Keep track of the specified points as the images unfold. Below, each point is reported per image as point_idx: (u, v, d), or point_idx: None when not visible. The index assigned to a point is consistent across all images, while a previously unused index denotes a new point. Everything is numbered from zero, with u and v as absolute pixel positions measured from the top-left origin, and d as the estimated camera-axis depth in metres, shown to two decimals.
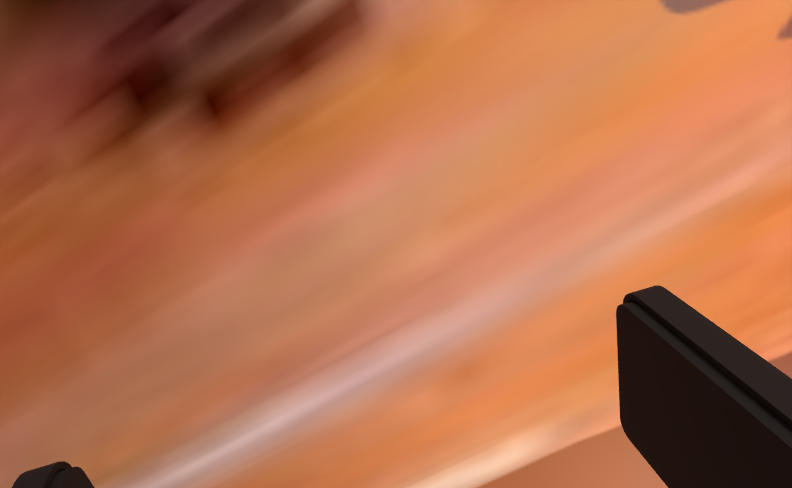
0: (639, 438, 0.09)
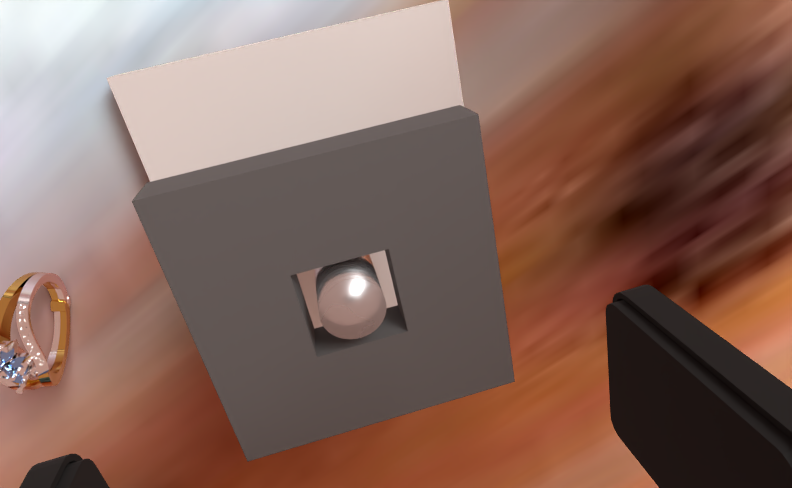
0: (629, 436, 0.10)
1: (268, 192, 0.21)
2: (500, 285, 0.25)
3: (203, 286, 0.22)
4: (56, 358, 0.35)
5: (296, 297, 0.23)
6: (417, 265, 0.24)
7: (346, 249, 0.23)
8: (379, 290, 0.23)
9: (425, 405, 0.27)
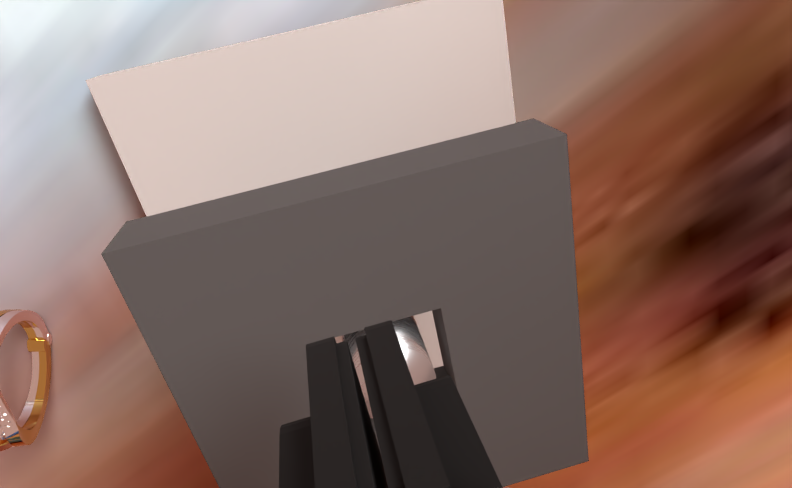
0: None
1: (285, 239, 0.16)
2: (579, 349, 0.20)
3: (200, 359, 0.17)
4: (33, 407, 0.30)
5: None
6: (476, 327, 0.18)
7: (386, 310, 0.17)
8: (427, 361, 0.18)
9: None
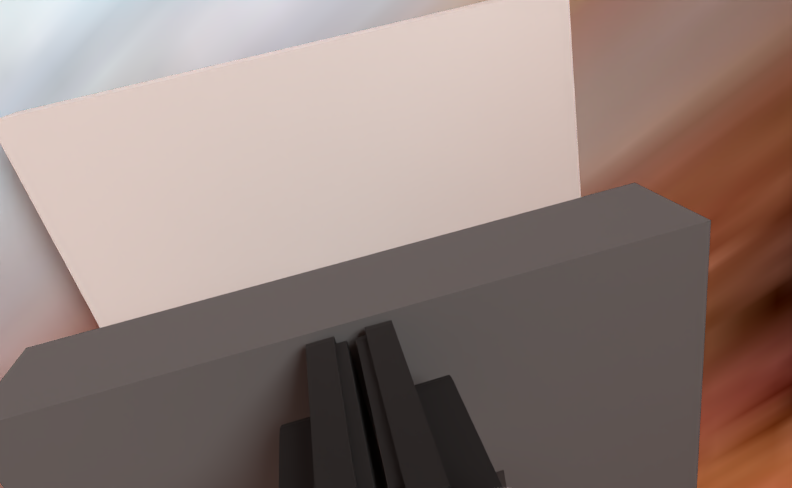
0: None
1: (267, 392, 0.10)
2: None
3: None
4: None
5: None
6: None
7: None
8: None
9: None
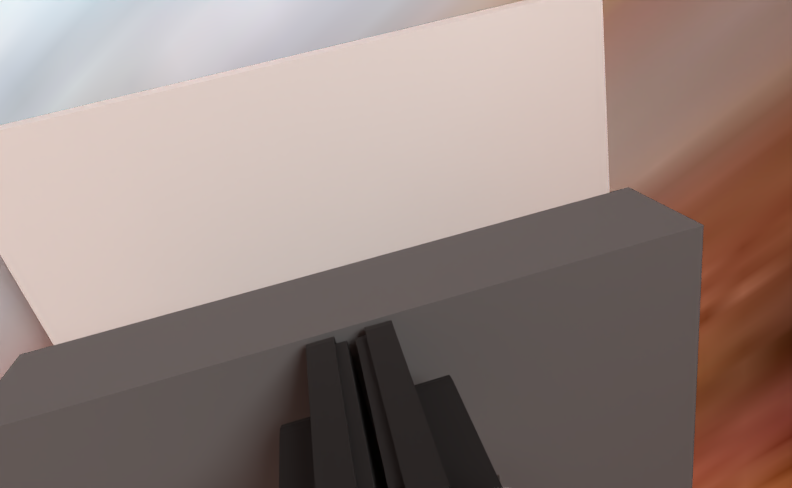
0: None
1: (262, 399, 0.10)
2: None
3: None
4: None
5: None
6: None
7: None
8: None
9: None
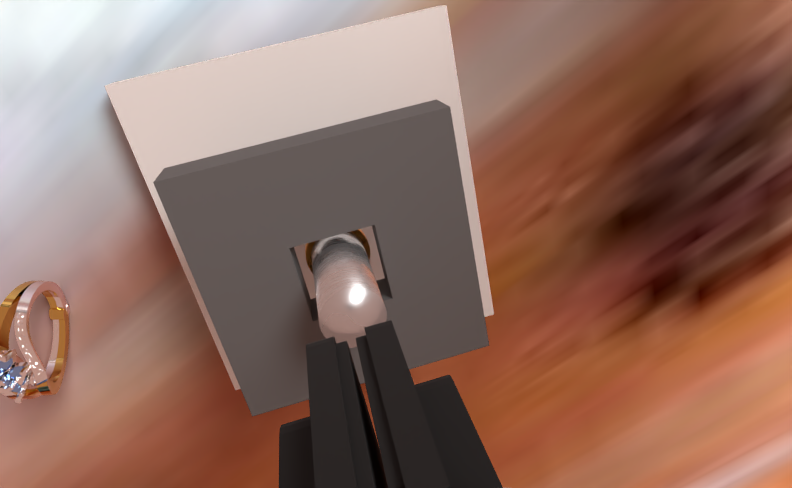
0: None
1: (269, 174, 0.25)
2: (473, 257, 0.29)
3: (214, 257, 0.26)
4: (55, 366, 0.35)
5: (294, 267, 0.27)
6: (399, 239, 0.27)
7: (337, 225, 0.26)
8: (379, 298, 0.23)
9: (409, 366, 0.31)
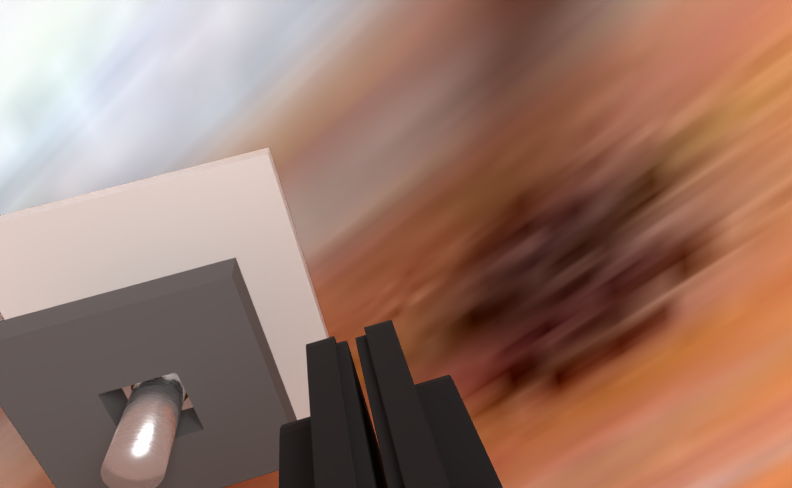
0: None
1: (70, 338, 0.28)
2: (276, 393, 0.32)
3: (28, 405, 0.29)
4: None
5: (105, 409, 0.30)
6: (202, 382, 0.31)
7: (141, 374, 0.30)
8: (155, 455, 0.27)
9: (230, 483, 0.34)
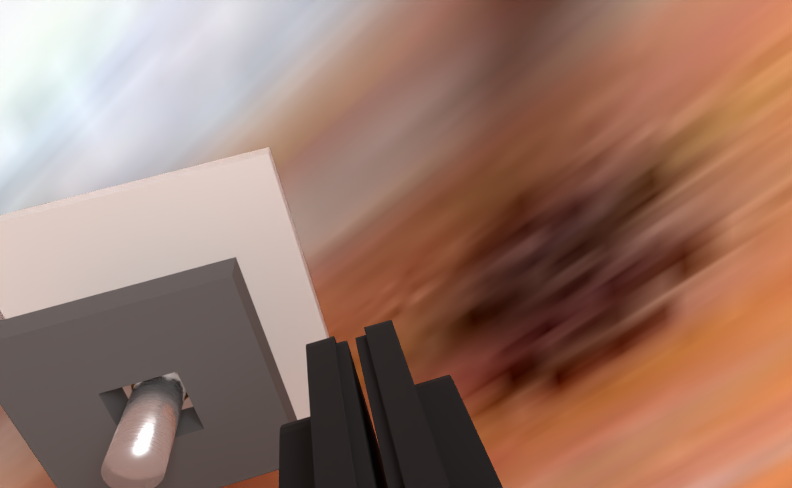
0: None
1: (70, 337, 0.28)
2: (276, 392, 0.32)
3: (28, 404, 0.29)
4: None
5: (106, 408, 0.30)
6: (202, 381, 0.31)
7: (141, 373, 0.30)
8: (155, 454, 0.27)
9: (230, 482, 0.34)
